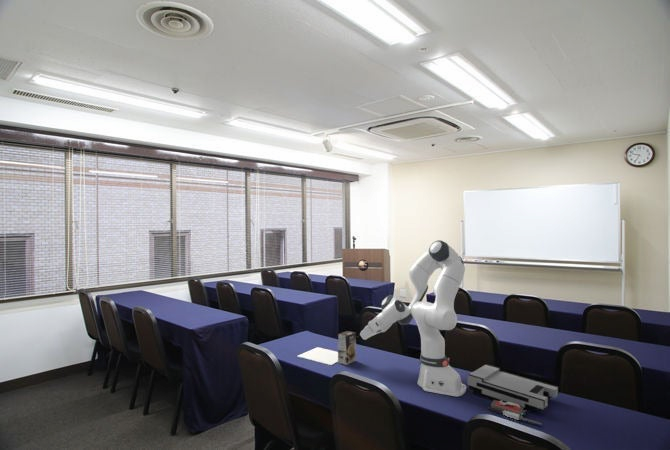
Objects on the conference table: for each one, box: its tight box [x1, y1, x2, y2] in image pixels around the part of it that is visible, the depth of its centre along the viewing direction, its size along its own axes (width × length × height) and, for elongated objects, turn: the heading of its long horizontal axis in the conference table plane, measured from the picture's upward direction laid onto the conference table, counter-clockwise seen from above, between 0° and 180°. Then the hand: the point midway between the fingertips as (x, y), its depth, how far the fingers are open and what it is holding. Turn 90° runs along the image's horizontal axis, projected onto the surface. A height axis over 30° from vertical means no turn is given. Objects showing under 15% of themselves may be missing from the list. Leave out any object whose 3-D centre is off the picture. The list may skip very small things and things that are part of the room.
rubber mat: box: [296, 346, 338, 366], centre depth 217 cm, size 24×20×1 cm
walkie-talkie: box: [487, 400, 542, 426], centre depth 150 cm, size 9×4×20 cm
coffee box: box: [337, 330, 357, 366], centre depth 208 cm, size 9×6×16 cm
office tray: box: [467, 363, 560, 413], centre depth 167 cm, size 21×32×8 cm, turn 44°
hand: (365, 338), depth 204 cm, fingers closed
